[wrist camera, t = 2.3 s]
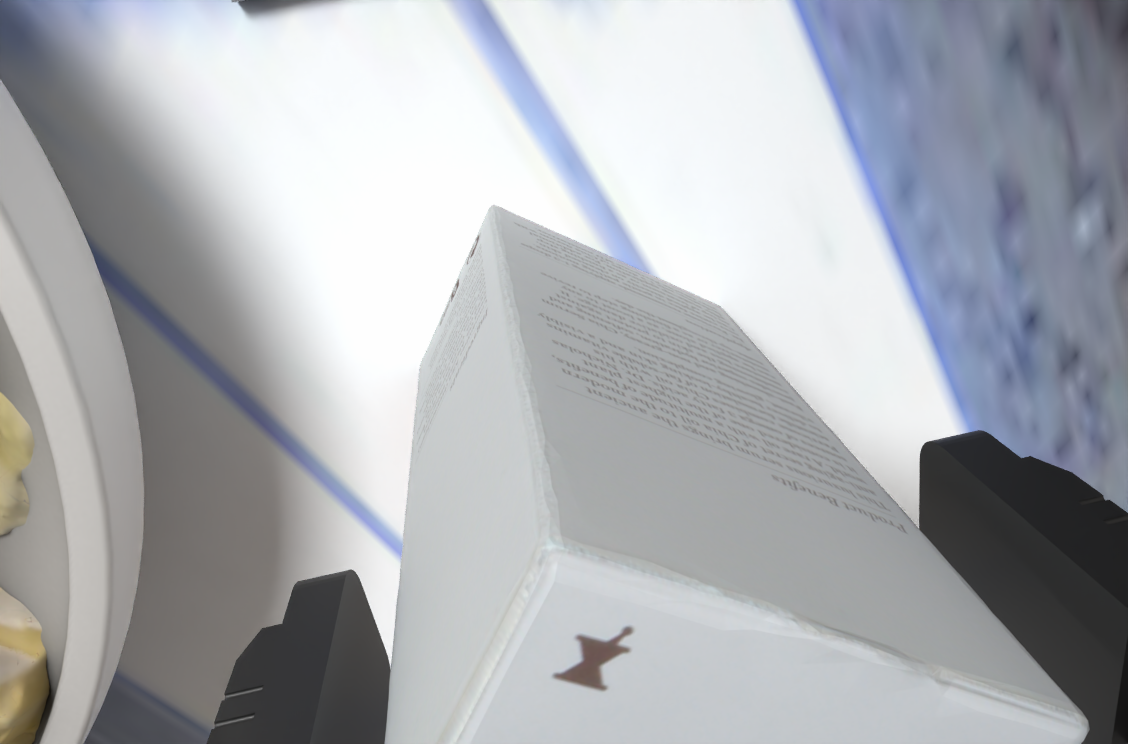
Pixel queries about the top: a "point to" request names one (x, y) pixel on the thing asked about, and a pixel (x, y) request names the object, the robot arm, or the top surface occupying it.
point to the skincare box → (665, 539)
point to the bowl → (59, 459)
